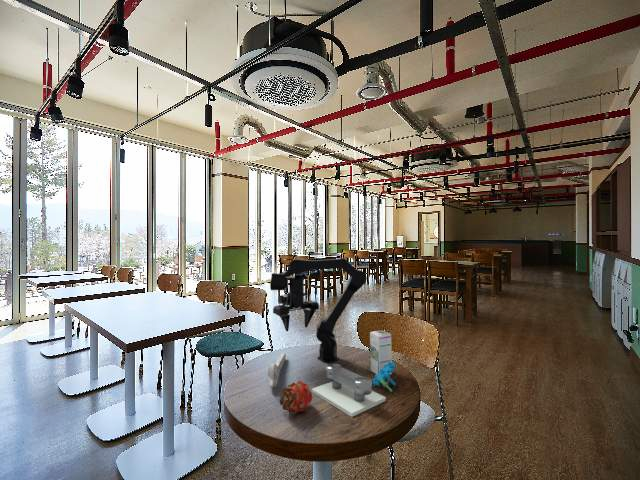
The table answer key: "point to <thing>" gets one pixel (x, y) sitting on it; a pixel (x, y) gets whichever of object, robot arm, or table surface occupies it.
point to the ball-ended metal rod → (349, 379)
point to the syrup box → (379, 350)
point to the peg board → (347, 398)
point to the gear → (385, 376)
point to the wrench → (275, 369)
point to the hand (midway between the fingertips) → (296, 329)
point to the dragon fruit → (296, 397)
